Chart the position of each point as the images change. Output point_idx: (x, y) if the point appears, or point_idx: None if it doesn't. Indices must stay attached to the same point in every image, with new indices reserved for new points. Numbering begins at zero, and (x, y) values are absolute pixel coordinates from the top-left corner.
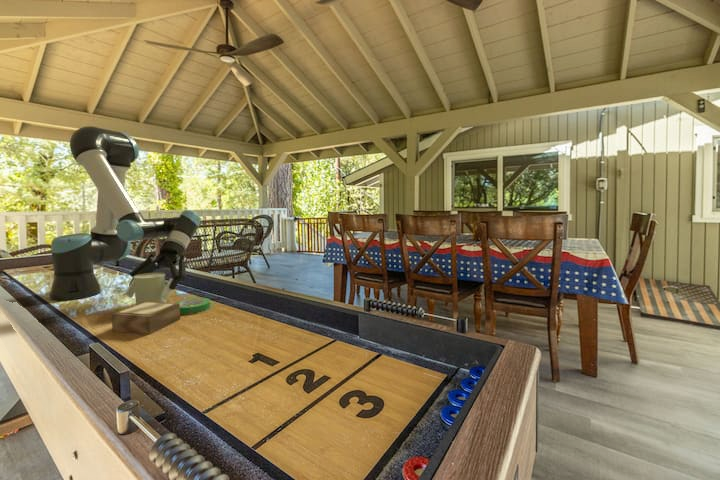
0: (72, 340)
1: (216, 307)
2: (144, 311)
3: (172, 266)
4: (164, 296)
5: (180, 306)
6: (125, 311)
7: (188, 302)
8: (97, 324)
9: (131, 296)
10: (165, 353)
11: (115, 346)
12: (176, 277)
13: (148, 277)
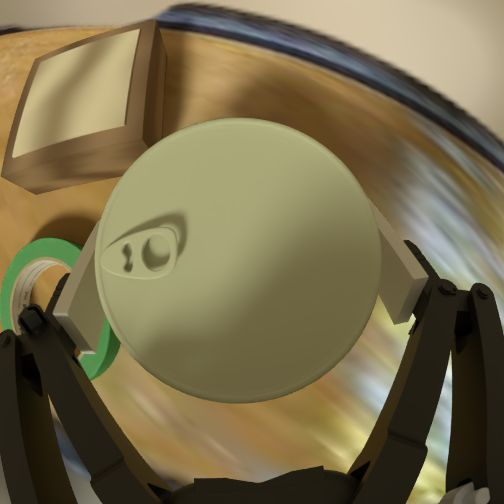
0: (216, 10)
1: None
2: (61, 65)
3: (78, 445)
4: None
5: (53, 249)
6: (121, 39)
7: None
8: (270, 75)
9: None
10: (4, 64)
11: (93, 29)
12: (29, 329)
13: (168, 174)
